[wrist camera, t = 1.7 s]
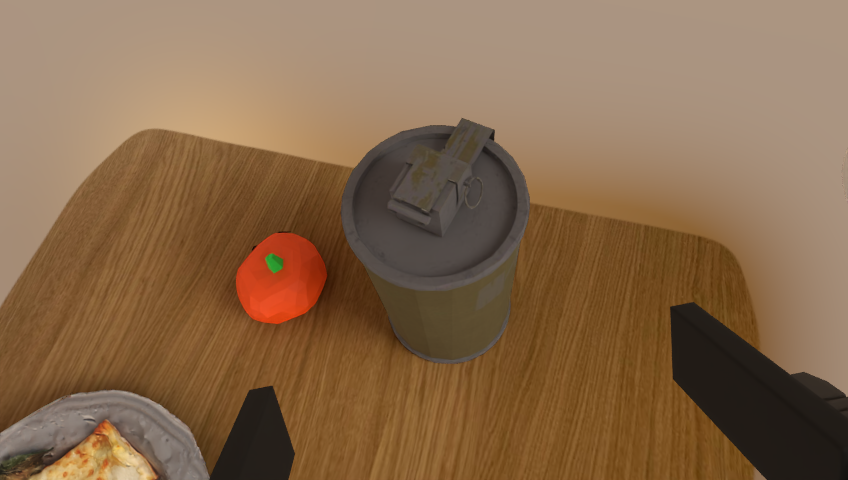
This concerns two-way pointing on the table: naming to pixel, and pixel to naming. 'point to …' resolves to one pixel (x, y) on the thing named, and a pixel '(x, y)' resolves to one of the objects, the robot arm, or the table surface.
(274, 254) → the pumpkin
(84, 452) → the food plate
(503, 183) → the canister
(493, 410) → the table surface
